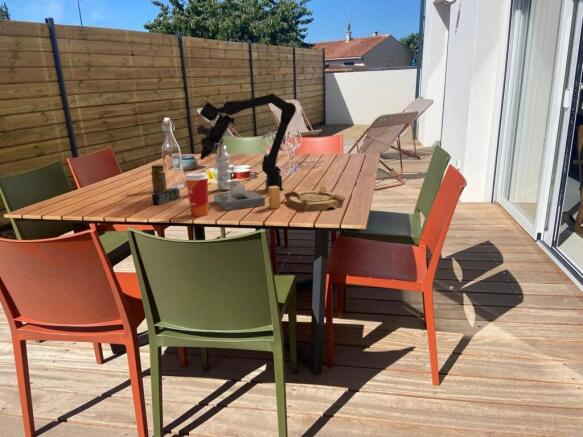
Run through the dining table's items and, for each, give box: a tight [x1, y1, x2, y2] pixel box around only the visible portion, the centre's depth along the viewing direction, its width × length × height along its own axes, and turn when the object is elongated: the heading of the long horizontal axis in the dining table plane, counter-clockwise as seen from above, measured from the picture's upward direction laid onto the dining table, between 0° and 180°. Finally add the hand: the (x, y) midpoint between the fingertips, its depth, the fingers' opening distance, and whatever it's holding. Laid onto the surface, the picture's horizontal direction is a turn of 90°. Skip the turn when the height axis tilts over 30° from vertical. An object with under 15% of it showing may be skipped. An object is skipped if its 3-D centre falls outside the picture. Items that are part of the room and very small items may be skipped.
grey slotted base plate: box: [213, 180, 266, 211], centre depth 174 cm, size 16×16×8 cm
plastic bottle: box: [214, 145, 232, 191], centre depth 196 cm, size 6×7×20 cm
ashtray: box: [283, 186, 346, 212], centre depth 171 cm, size 24×24×5 cm
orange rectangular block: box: [268, 186, 281, 210], centre depth 166 cm, size 3×3×8 cm
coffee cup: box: [184, 172, 209, 218], centre depth 158 cm, size 8×8×15 cm
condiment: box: [150, 164, 168, 195], centre depth 197 cm, size 7×8×12 cm
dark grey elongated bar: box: [151, 187, 181, 206], centre depth 180 cm, size 5×3×15 cm
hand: (203, 157), depth 195 cm, fingers open, 9 cm apart
